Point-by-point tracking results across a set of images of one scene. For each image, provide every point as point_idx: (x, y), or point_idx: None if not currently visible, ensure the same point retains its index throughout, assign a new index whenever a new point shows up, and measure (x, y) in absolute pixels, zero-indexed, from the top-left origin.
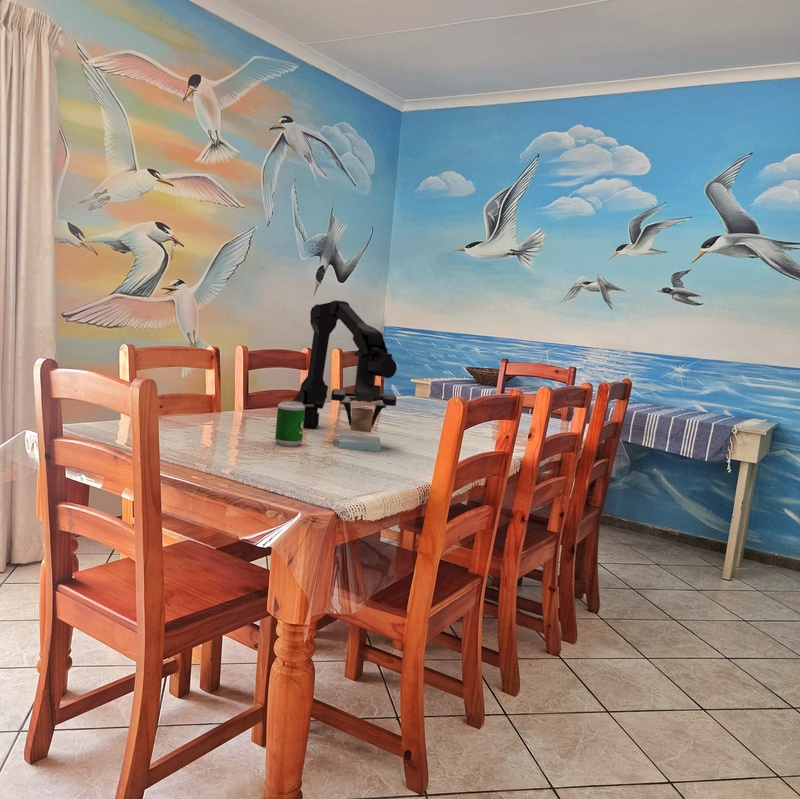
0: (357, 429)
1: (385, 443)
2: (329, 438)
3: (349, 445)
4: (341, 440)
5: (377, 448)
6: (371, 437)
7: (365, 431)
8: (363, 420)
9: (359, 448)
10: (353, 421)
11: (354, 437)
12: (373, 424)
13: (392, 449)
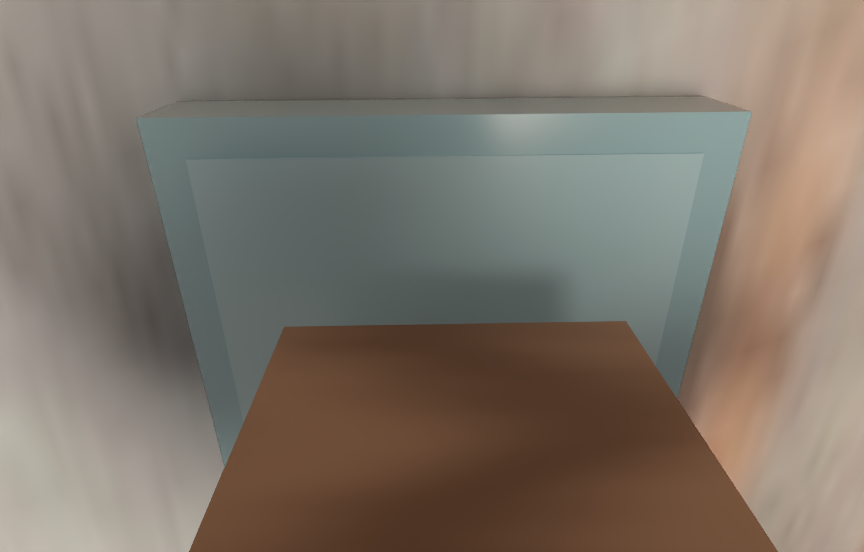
0: (517, 338)
1: (204, 506)
2: None
3: (582, 106)
4: (702, 174)
5: (205, 106)
6: None
7: (377, 331)
8: (433, 472)
9: (444, 102)
10: (650, 431)
11: None
12: None
13: (79, 293)
